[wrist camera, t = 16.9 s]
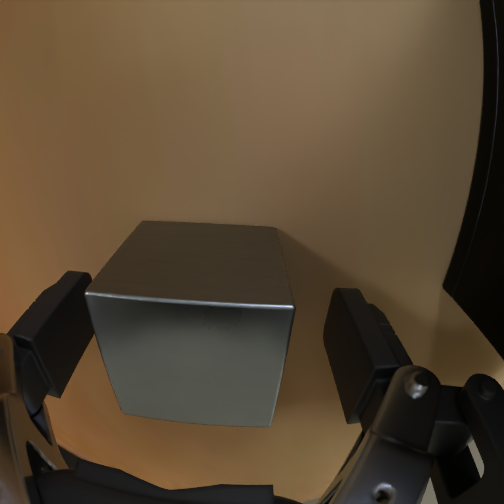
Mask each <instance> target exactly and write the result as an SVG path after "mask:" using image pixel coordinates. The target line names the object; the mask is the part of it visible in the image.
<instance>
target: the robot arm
mask: <svg viewBox="0 0 504 504" xmlns="http://www.w3.org/2000/svg"><path fill="white" fill-rule="evenodd" d="M91 282H92V278H91V275H90V274H89V273H87V272H77V271H67V272H66V273H65V274H64V275H63V276H62V277H61V278H60V280H59V281H58V282H57V283H56V284H54V285H52V286H51V287H49V288H47V289H46V290H44V291H43V292H42V293H41V294H40V295H39V297H38V298H37V299H36V301H35V302H33V303H32V304H31V306H30V307H29V309H27V310H26V311H25V313H24V314H23V315H22V316H21V317H20V318H19V320H18V321H17V322H16V323H15V324H14V326H13V327H12V328H11V329H10V331H9V332H8V333H7V334H4V333H0V504H302V503H300V502H297V501H295V500H291V499H288V498H284V497H280V496H275V495H274V493H273V485H230V484H219V485H212V486H205V487H197V488H188V489H177V490H168V489H163V488H161V487H158V486H156V485H153V484H151V483H148V482H146V481H144V480H142V479H139V478H137V477H135V476H133V475H130V474H128V473H126V472H124V471H122V470H120V469H116V468H111V467H108V466H104V465H100V464H96V463H93V462H89V461H86V460H83V459H80V458H78V460H77V463H76V466H75V469H69V468H68V467H67V465H66V463H65V461H64V460H63V458H62V456H61V454H60V452H59V449H58V445H57V442H56V439H55V436H54V432H53V429H52V425H51V421H50V417H49V413H48V409H47V406H46V404H45V402H44V399H45V397H46V395H50V396H53V397H56V398H61V396H62V393H63V391H64V389H65V387H66V385H67V383H68V382H69V380H70V378H71V376H72V374H73V372H74V370H75V368H76V366H77V364H78V362H79V360H80V359H81V357H82V355H83V353H84V351H85V349H86V348H87V346H88V344H89V342H90V340H91V339H92V337H93V335H94V329H93V326H92V322H91V319H90V315H89V311H88V307H87V303H86V299H85V290H86V289H87V287H88V286H89V285H90V283H91ZM323 340H324V346H325V349H326V353H327V356H328V359H329V363H330V366H331V369H332V373H333V376H334V380H335V383H336V386H337V390H338V393H339V397H340V401H341V404H342V408H343V411H344V415H345V418H346V422H347V424H353V423H361V427H362V431H361V433H360V434H359V436H358V438H357V440H356V442H355V443H354V445H353V447H352V449H351V451H350V453H349V454H348V456H347V458H346V460H345V461H344V463H343V465H342V466H341V468H340V470H339V472H338V473H337V475H336V476H335V478H334V480H333V481H332V483H331V484H330V486H329V487H328V488H327V490H326V491H325V493H324V494H323V495H322V497H321V498H320V499H319V501H318V502H317V504H420V503H421V501H422V498H423V495H424V493H425V489H426V487H427V484H428V481H429V478H430V477H431V481H432V484H433V488H434V491H435V494H436V498H437V502H438V504H504V390H503V388H502V387H501V385H500V384H499V383H498V382H497V381H496V380H495V379H493V378H492V377H490V376H488V375H485V374H474V375H472V376H471V377H469V379H468V380H467V382H466V383H465V385H464V386H463V387H456V386H447V385H441V384H440V381H439V380H438V378H437V377H436V376H435V375H434V374H433V373H432V372H431V371H429V370H427V369H426V368H423V367H420V366H416V365H413V363H412V361H411V359H410V358H409V356H408V354H407V352H406V351H405V349H404V347H403V345H402V344H401V342H400V340H399V338H398V337H397V335H395V331H394V330H393V328H392V326H390V323H389V321H388V320H387V318H386V316H385V315H384V313H383V312H382V311H380V310H379V309H378V308H377V307H376V306H374V305H373V304H367V302H366V300H365V299H364V297H363V295H362V293H361V292H360V290H359V289H357V288H335V289H334V291H333V293H332V297H331V301H330V306H329V310H328V314H327V318H326V322H325V326H324V332H323ZM473 439H474V441H475V444H476V446H477V448H478V451H479V453H480V455H481V458H482V460H483V463H484V474H483V476H482V478H480V475H479V472H478V470H477V467H476V464H475V462H474V459H473V457H472V454H471V452H470V450H469V447H468V444H469V443H470V442H471V441H472V440H473Z"/></svg>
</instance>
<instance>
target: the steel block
mask: <svg viewBox="0 0 504 504" xmlns="http://www.w3.org/2000/svg"><path fill="white" fill-rule="evenodd" d="M85 299H86V303H87V307H88V311H89V315H90V319H91V322H92V326H93V329H94V333H95V336H96V340H97V343H98V346H99V349H100V353H101V356H102V359H103V362H104V365H105V368H106V371H107V374H108V376H109V379H110V382H111V385H112V387H113V390H114V393H115V395H116V398H117V400H118V403H119V405H120V408H121V410H122V412H123V413H124V414H128V415H134V416H140V417H146V418H152V419H159V420H166V421H174V422H183V423H193V424H204V425H218V426H239V427H270V426H271V424H272V420H273V416H274V412H275V407H276V403H277V398H278V394H279V389H280V385H281V380H282V376H283V371H284V366H285V361H286V356H287V351H288V346H289V341H290V336H291V331H292V326H293V321H294V315H295V310H296V307H295V303H294V299H293V295H292V291H291V287H290V283H289V279H288V275H287V271H286V267H285V263H284V259H283V255H282V251H281V247H280V243H279V239H278V236H277V232H276V228H274V227H260V226H244V225H226V224H206V223H185V222H162V221H142V222H141V223H140V224H139V225H138V226H137V227H136V228H135V230H134V231H133V232H132V233H131V234H130V235H129V237H128V238H127V239H126V240H125V241H124V242H123V244H122V245H121V246H120V247H119V248H118V250H117V251H116V252H115V253H114V255H113V256H112V257H111V258H110V259H109V261H108V262H107V263H106V264H105V266H104V267H103V268H102V269H101V271H100V272H99V273H98V274H97V276H96V277H95V278H94V280H93V281H92V282H91V283H90V285H89V286H88V287H87V289H86V290H85Z"/></svg>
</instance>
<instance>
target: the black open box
mask: <svg viewBox="0 0 504 504" xmlns="http://www.w3.org/2000/svg"><path fill="white" fill-rule="evenodd" d="M480 6H481V15H482V26H483V42H484V90H483V107H482V119H481V128H480V137H479V144H478V151H477V158H476V164H475V170H474V175H473V180H472V185H471V190H470V194H469V199H468V203H467V207H466V212H465V215H464V219H463V223H462V227H461V230H460V234H459V237H458V241H457V244H456V247H455V251H454V254H453V257H452V260H451V263H450V266H449V269H448V272H447V275H446V278H445V280H444V283H443V286H442V287H443V289H444V290H445V291H446V292H447V293H448V294H449V295H450V296H451V297H452V298H453V299H454V301H455V302H456V303H457V304H458V305H459V306H460V307H461V308H462V310H463V311H464V312H465V313H466V314H467V315H468V317H469V318H470V319H471V320H472V321H473V322H474V324H475V325H476V326H477V327H478V328H479V330H480V331H481V332H482V333H483V335H484V336H485V337H486V338H487V339H488V341H489V342H490V343H491V344H492V346H493V347H494V348H495V350H496V351H497V352H498V353H499V355H500V356H501V357H502V359H503V360H504V0H480Z"/></svg>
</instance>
